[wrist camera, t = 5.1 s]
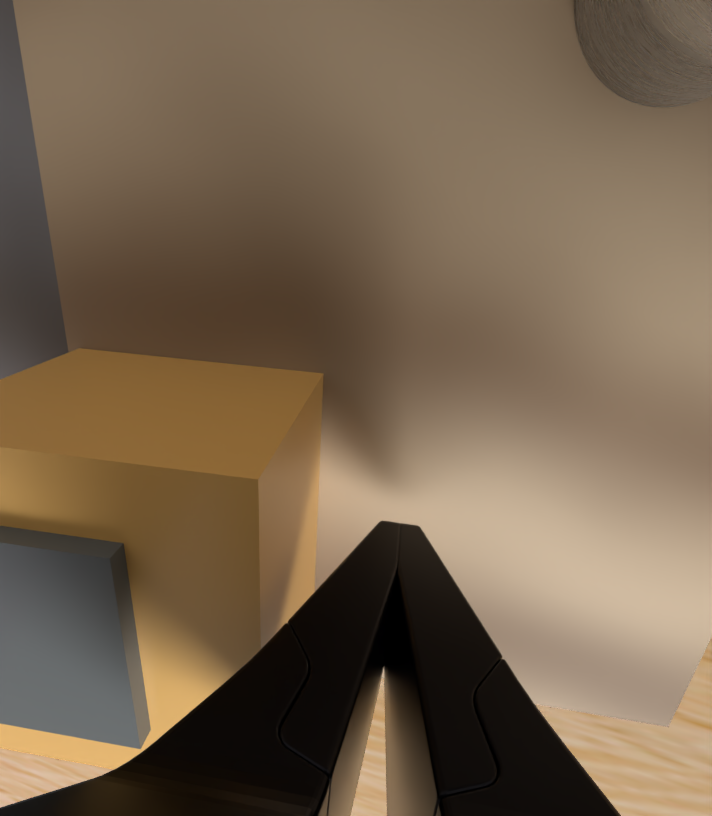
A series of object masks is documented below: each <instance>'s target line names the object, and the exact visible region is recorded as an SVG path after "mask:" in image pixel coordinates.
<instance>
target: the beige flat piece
mask: <svg viewBox="0 0 712 816" xmlns="http://www.w3.org/2000/svg"><path fill="white" fill-rule="evenodd" d="M79 348H82V349H92V350H101V351H111V352H121V353H130V354H140V355H150V356H159V357H169V358H179V359H188V360H198V361H208V362H218V363H227V364H237V365H247V366H256V367H266V368H276V369H285V370H295V371H305V372H314V373H324V375H323V399H322V423H321V447H320V471H319V495H318V520H317V544H316V568H315V591H316V590H317V589H318V588H319V587H320V585H321V584H322V583H323V582H324V581H325V580H326V579H327V578H328V577H329V576H330V575H331V573H332V572H333V571H334V570H335V569H336V568H337V567H338V566H339V565H340V564H341V563H342V562H343V560H344V559H345V558H346V557H347V556H348V555H349V554H350V553H351V552H352V551H353V550H354V549H355V547H356V546H357V545H358V544H359V543H360V542H361V541H362V540H363V539H364V538H365V537H366V536H367V534H368V533H369V532H370V531H371V530H372V529H373V528H374V527H375V526H376V525H377V524H378V523H379V522H380V521H382V520H384V521H391V522H397V523H405V524H412V525H418V526H419V527H421V529H422V530H423V532H424V533H425V535H426V537H427V538H428V540H429V541H430V543H431V544H432V546H433V548H434V549H435V551H436V552H437V554H438V555H439V557H440V559H441V560H442V562H443V563H444V565H445V566H446V568H447V570H448V571H449V573H450V574H451V576H452V577H453V579H454V580H455V582H456V584H457V585H458V587H459V588H460V590H461V591H462V593H463V595H464V596H465V598H466V599H467V601H468V602H469V604H470V606H471V607H472V609H473V610H474V612H475V613H476V615H477V617H478V618H479V620H480V621H481V623H482V624H483V626H484V627H485V629H486V631H487V632H488V634H489V635H490V637H491V638H492V640H493V642H494V643H495V645H496V646H497V648H498V649H499V651H500V653H501V654H502V656H503V659H505V660H506V662H507V663H508V665H509V666H510V668H511V670H512V671H513V673H514V674H515V676H516V677H517V679H518V680H519V682H520V683H521V685H522V686H523V688H524V689H525V691H526V692H527V694H528V695H529V697H530V698H531V700H532V701H533V703H534V704H536V705H542V706H548V707H553V708H559V709H565V710H571V711H577V712H583V713H589V714H595V715H600V716H606V717H612V718H618V719H624V720H630V721H636V722H641V723H647V724H653V725H659V726H665V727H669V724H670V722H671V720H672V718H673V716H674V714H675V712H676V710H677V708H678V706H679V704H680V702H681V700H682V698H683V695H684V693H685V691H686V689H687V687H688V685H689V683H690V681H691V679H692V677H693V675H694V673H695V671H696V669H697V666H698V664H699V662H700V660H701V658H702V656H703V654H704V652H705V650H706V648H707V646H708V644H709V642H710V640H711V637H712V96H711V97H709V98H706V99H704V100H701V101H698V102H694V103H691V104H687V105H682V106H675V107H651V106H644V105H640V104H637V103H633V102H630V101H628V100H626V99H624V98H622V97H620V96H618V95H617V94H615V93H614V92H612V91H611V90H609V89H608V88H607V87H606V86H605V85H604V84H603V83H602V82H601V81H600V80H599V79H598V78H597V77H596V75H595V74H594V73H593V71H592V70H591V68H590V67H589V65H588V63H587V61H586V59H585V57H584V55H583V53H582V50H581V47H580V44H579V41H578V37H577V32H576V27H575V18H574V0H0V379H3V378H5V377H8V376H11V375H13V374H16V373H18V372H21V371H23V370H26V369H28V368H31V367H33V366H36V365H38V364H41V363H43V362H46V361H48V360H51V359H54V358H56V357H59V356H61V355H64V354H66V353H69V352H71V351H74V350H76V349H79ZM382 678H383V679H384V669H383V673H382Z"/></svg>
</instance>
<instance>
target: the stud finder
mask: <svg viewBox="0 0 712 816" xmlns="http://www.w3.org/2000/svg"><path fill="white" fill-rule="evenodd" d="M323 375H324V373H314V372H305V371H295V370H285V369H276V368H266V367H256V366H247V365H237V364H227V363H218V362H208V361H198V360H188V359H179V358H169V357H159V356H150V355H140V354H130V353H121V352H111V351H101V350H92V349H82V348H79V349H76V350H74V351H71V352H69V353H66V354H64V355H61V356H59V357H56V358H54V359H51V360H48V361H46V362H43V363H41V364H38V365H36V366H33V367H31V368H28V369H26V370H23V371H21V372H18V373H16V374H13V375H11V376H8V377H5V378H3V379H0V748H2V749H8V750H13V751H18V752H24V753H29V754H34V755H40V756H45V757H50V758H56V759H61V760H66V761H72V762H77V763H82V764H87V765H93V766H98V767H103V768H109V769H116V768H118V767H120V766H121V765H123V764H125V763H126V762H128V761H130V760H131V759H132V758H134V757H135V756H137V755H138V754H140V753H141V752H143V751H144V750H145V749H146V748H148V747H149V746H150V745H151V744H153V743H154V742H155V741H156V740H157V739H159V738H160V737H161V736H162V735H163V734H165V733H166V732H167V731H168V730H169V729H170V728H172V727H173V726H174V725H175V724H176V723H178V722H179V721H180V720H181V719H182V718H183V717H185V716H186V715H187V714H188V713H189V712H191V711H192V710H193V709H194V708H195V707H196V706H198V705H199V704H200V703H201V702H202V701H204V700H205V699H206V698H207V697H208V696H209V695H211V694H212V693H213V692H214V691H215V690H217V689H218V688H219V687H220V686H221V685H222V684H224V683H225V682H226V681H227V680H228V679H229V678H230V677H232V676H233V675H234V674H235V673H236V672H237V671H238V670H239V669H240V668H242V667H243V666H244V665H245V664H246V663H247V662H248V661H249V660H251V659H252V658H253V657H254V656H255V655H256V654H257V653H258V652H259V651H260V649H261V648H262V647H263V646H264V645H265V644H266V643H267V642H268V641H269V640H270V639H271V638H272V637H273V636H274V635H275V634H276V633H277V632H278V631H279V630H280V629H281V627H282V626H283V625H284V624H285V623H288V620H289V619H290V618H291V617H292V616H293V615H294V614H295V613H296V611H297V610H298V609H299V608H300V607H301V606H302V605H303V604H304V603H305V602H306V601H307V600H308V598H309V597H310V596H311V595H312V594H313V593H314V592H315V568H316V544H317V520H318V495H319V471H320V447H321V423H322V399H323Z"/></svg>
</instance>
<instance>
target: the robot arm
mask: <svg viewBox="0 0 712 816" xmlns="http://www.w3.org/2000/svg"><path fill="white" fill-rule="evenodd" d="M383 669H384V687H385V737H386V787H387V816H621V815H620V814H619V813H618V811H617V810H616V809H615V808H614V806H613V805H612V804H611V802H610V801H609V800H608V799H607V797H606V796H605V795H604V794H603V792H602V791H601V790H600V789H599V787H598V786H597V785H596V783H595V782H594V781H593V780H592V778H591V777H590V776H589V775H588V773H587V772H586V771H585V770H584V768H583V767H582V766H581V764H580V763H579V762H578V761H577V759H576V758H575V757H574V756H573V754H572V753H571V752H570V751H569V749H568V748H567V747H566V745H565V744H564V743H563V742H562V740H561V739H560V738H559V736H558V735H557V734H556V732H555V731H554V730H553V728H552V727H551V726H550V724H549V723H548V722H547V720H546V719H545V718H544V716H543V715H542V714H541V712H540V711H539V710H538V708H537V707H536V705H535V704H534V703H533V701H532V700H531V698H530V697H529V695H528V694H527V692H526V691H525V689H524V688H523V686H522V685H521V683H520V682H519V680H518V679H517V677H516V676H515V674H514V673H513V671H512V670H511V668H510V666H509V665H508V663H507V662H506V660H505V659H503V656H502V654H501V653H500V651H499V649H498V648H497V646H496V645H495V643H494V642H493V640H492V638H491V637H490V635H489V634H488V632H487V631H486V629H485V627H484V626H483V624H482V623H481V621H480V620H479V618H478V617H477V615H476V613H475V612H474V610H473V609H472V607H471V606H470V604H469V602H468V601H467V599H466V598H465V596H464V595H463V593H462V591H461V590H460V588H459V587H458V585H457V584H456V582H455V580H454V579H453V577H452V576H451V574H450V573H449V571H448V570H447V568H446V566H445V565H444V563H443V562H442V560H441V559H440V557H439V555H438V554H437V552H436V551H435V549H434V548H433V546H432V544H431V543H430V541H429V540H428V538H427V537H426V535H425V533H424V532H423V530H422V529H421V527H419V526H418V525H412V524H405V523H397V522H391V521H384V520H382V521H380V522H379V523H378V524H377V525H376V526H375V527H374V528H373V529H372V530H371V531H370V532H369V533H368V534H367V536H366V537H365V538H364V539H363V540H362V541H361V542H360V543H359V544H358V545H357V546H356V547H355V549H354V550H353V551H352V552H351V553H350V554H349V555H348V556H347V557H346V558H345V559H344V560H343V562H342V563H341V564H340V565H339V566H338V567H337V568H336V569H335V570H334V571H333V572H332V573H331V575H330V576H329V577H328V578H327V579H326V580H325V581H324V582H323V583H322V584H321V585H320V587H319V588H318V589H317V590H316V591H315V592H314V593H313V594H312V595H311V596H310V597H309V598H308V600H307V601H306V602H305V603H304V604H303V605H302V606H301V607H300V608H299V609H298V610H297V611H296V613H295V614H294V615H293V616H292V617H291V618H290V619H289V620H288V623H285V624H284V625H283V626H282V627H281V629H280V630H279V631H278V632H277V633H276V634H275V635H274V636H273V637H272V638H271V639H270V640H269V641H268V642H267V643H266V644H265V645H264V646H263V647H262V648H261V649H260V651H259V652H258V653H257V654H256V655H255V656H254V657H253V658H252V659H251V660H249V661H248V662H247V663H246V664H245V665H244V666H243V667H242V668H240V669H239V670H238V671H237V672H236V673H235V674H234V675H233V676H232V677H230V678H229V679H228V680H227V681H226V682H225V683H224V684H222V685H221V686H220V687H219V688H218V689H217V690H215V691H214V692H213V693H212V694H211V695H209V696H208V697H207V698H206V699H205V700H204V701H202V702H201V703H200V704H199V705H198V706H196V707H195V708H194V709H193V710H192V711H191V712H189V713H188V714H187V715H186V716H185V717H183V718H182V719H181V720H180V721H179V722H178V723H176V724H175V725H174V726H173V727H172V728H170V729H169V730H168V731H167V732H166V733H165V734H163V735H162V736H161V737H160V738H159V739H157V740H156V741H155V742H154V743H153V744H151V745H150V746H149V747H148V748H146V749H145V750H144V751H143V752H141V753H140V754H138V755H137V756H135V757H134V758H132V759H131V760H130V761H128V762H126V763H125V764H123V765H121V766H120V767H118V768H116V769H114V770H112V771H110V772H108V773H106V774H104V775H102V776H99V777H96V778H94V779H90V780H87V781H84V782H81V783H78V784H74V785H71V786H68V787H65V788H62V789H59V790H55V791H52V792H49V793H46V794H43V795H39V796H36V797H33V798H30V799H27V800H23V801H20V802H17V803H14V804H11V805H7V806H4V807H1V808H0V816H350V815H351V810H352V806H353V801H354V797H355V793H356V788H357V784H358V779H359V775H360V770H361V766H362V762H363V757H364V753H365V748H366V744H367V740H368V735H369V731H370V726H371V722H372V717H373V713H374V709H375V704H376V700H377V695H378V691H379V687H380V682H381V678H382V673H383Z"/></svg>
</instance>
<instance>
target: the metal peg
mask: <svg viewBox="0 0 712 816" xmlns="http://www.w3.org/2000/svg"><path fill="white" fill-rule="evenodd" d="M574 18H575V27H576V32H577V37H578V41H579V44H580V47H581V50H582V53H583V55H584V57H585V59H586V61H587V63H588V65H589V67H590V68H591V70H592V71H593V73H594V74H595V75H596V77H597V78H598V79H599V80H600V81H601V82H602V83H603V84H604V85H605V86H606V87H607V88H608V89H609V90H611V91H612V92H614V93H615V94H617V95H618V96H620V97H622V98H624V99H626V100H628V101H630V102H633V103H637V104H640V105H644V106H651V107H675V106H682V105H687V104H691V103H694V102H698V101H701V100H704V99H706V98H709V97H711V96H712V0H574Z"/></svg>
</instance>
